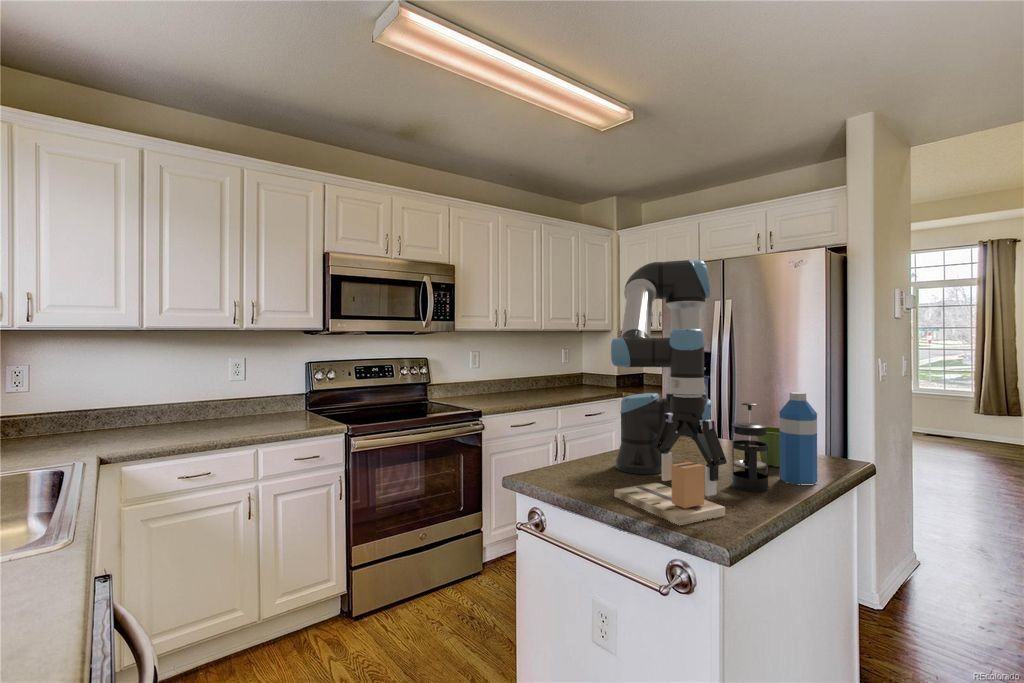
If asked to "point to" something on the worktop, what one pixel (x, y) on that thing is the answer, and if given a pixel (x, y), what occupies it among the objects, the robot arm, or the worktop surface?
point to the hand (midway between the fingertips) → (687, 487)
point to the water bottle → (798, 441)
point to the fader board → (667, 504)
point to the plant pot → (771, 446)
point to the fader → (687, 484)
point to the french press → (750, 457)
